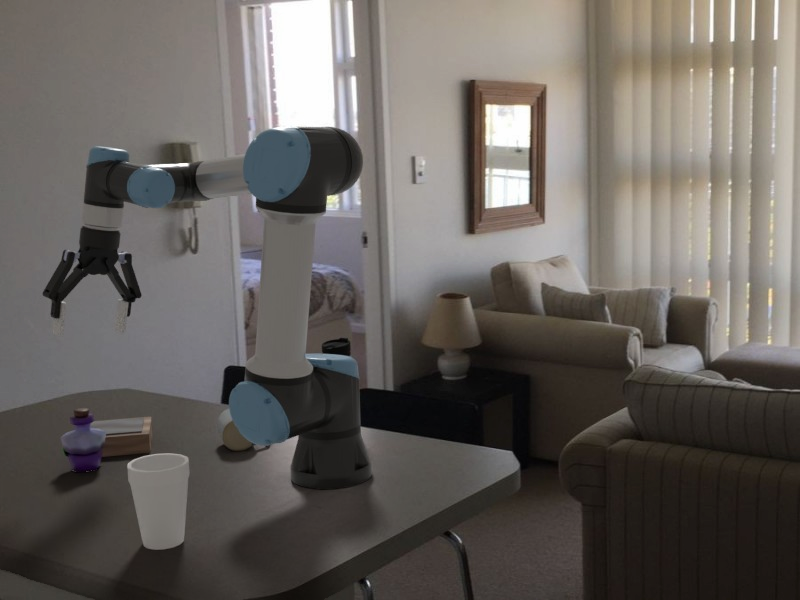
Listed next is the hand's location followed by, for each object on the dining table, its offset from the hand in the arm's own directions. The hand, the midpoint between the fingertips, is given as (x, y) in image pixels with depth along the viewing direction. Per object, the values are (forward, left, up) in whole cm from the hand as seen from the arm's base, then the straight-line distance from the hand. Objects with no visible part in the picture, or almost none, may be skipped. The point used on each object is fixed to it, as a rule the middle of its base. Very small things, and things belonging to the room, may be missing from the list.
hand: (89, 333), depth 197 cm
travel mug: (+7, -50, -26) cm, 57 cm away
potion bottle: (-4, +2, -26) cm, 27 cm away
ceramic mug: (+2, -29, -26) cm, 39 cm away
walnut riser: (+10, -3, -26) cm, 28 cm away
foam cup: (-47, -14, -26) cm, 56 cm away
